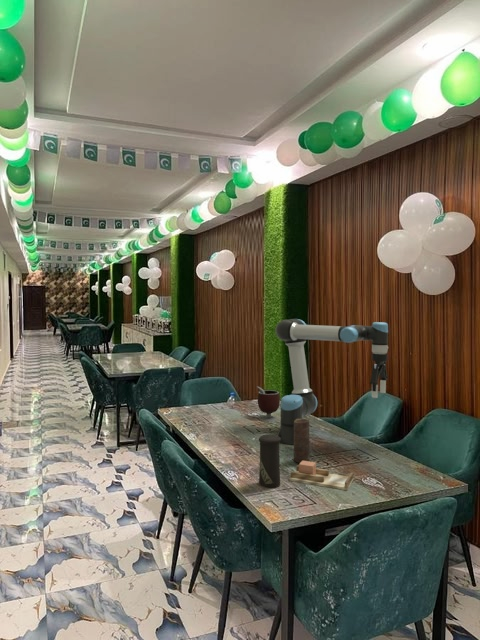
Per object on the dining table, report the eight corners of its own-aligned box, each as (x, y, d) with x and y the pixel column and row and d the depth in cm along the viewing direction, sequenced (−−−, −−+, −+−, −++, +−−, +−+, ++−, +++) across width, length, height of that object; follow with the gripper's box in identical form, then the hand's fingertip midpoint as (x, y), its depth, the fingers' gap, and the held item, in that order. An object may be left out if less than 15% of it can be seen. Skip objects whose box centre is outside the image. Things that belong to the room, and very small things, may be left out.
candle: (305, 466, 209) (305, 422, 208) (290, 463, 212) (290, 420, 212) (312, 461, 215) (312, 418, 214) (297, 458, 219) (297, 416, 218)
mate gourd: (283, 418, 293) (283, 386, 292) (273, 423, 282) (273, 390, 281) (262, 414, 302) (262, 384, 301) (251, 419, 290) (251, 388, 289)
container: (257, 480, 192) (257, 433, 191) (278, 479, 193) (278, 432, 192) (260, 489, 184) (260, 439, 183) (282, 488, 184) (282, 438, 183)
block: (298, 475, 194) (298, 464, 194) (302, 471, 198) (302, 460, 198) (312, 478, 191) (312, 466, 191) (316, 474, 196) (316, 462, 196)
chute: (289, 480, 192) (289, 473, 192) (298, 470, 203) (298, 464, 203) (347, 490, 182) (347, 482, 182) (353, 479, 193) (353, 472, 193)
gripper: (379, 356, 219) (378, 400, 220) (394, 351, 239) (393, 391, 240) (364, 355, 223) (363, 398, 224) (379, 350, 243) (378, 390, 245)
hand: (378, 395), depth 232 cm, fingers open, 13 cm apart
